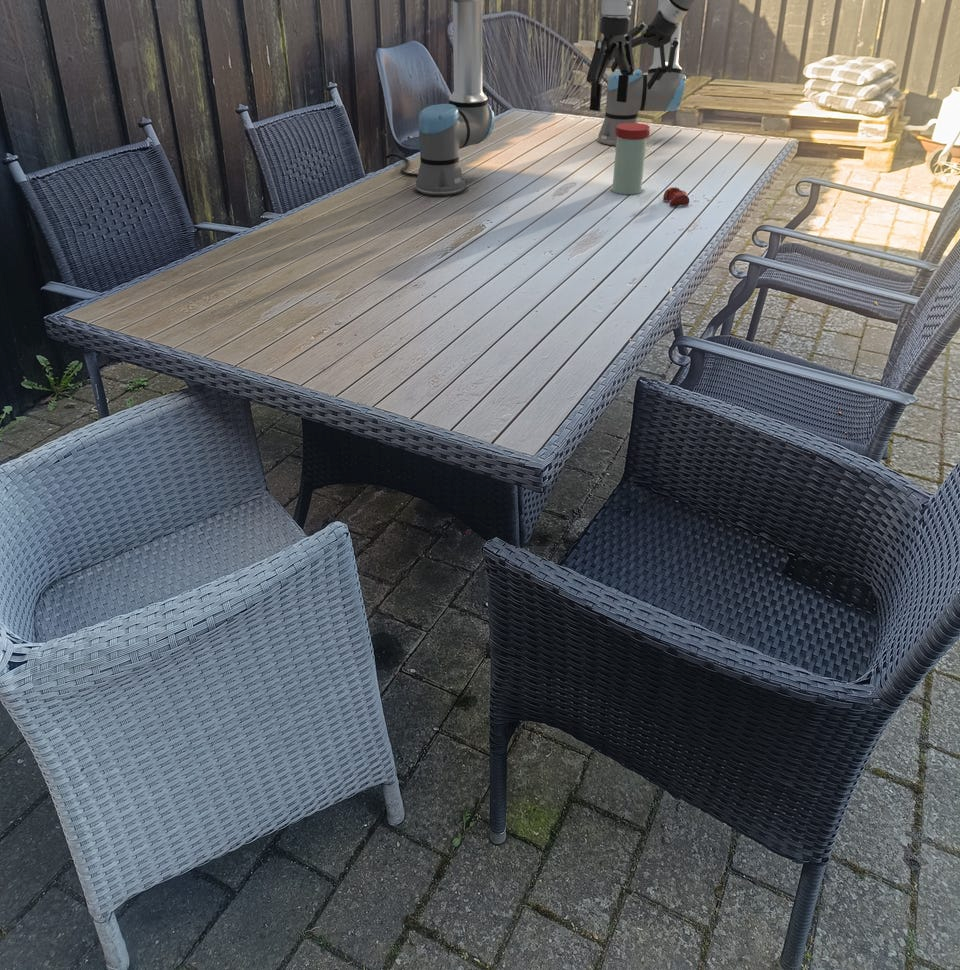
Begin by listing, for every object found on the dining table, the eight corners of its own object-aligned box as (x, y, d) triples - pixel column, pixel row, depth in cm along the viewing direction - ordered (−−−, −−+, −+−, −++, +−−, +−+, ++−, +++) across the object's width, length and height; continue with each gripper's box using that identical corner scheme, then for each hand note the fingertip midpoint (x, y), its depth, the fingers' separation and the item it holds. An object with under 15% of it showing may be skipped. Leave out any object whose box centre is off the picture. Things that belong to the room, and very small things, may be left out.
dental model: (680, 183, 249) (692, 191, 242) (678, 197, 251) (690, 206, 245) (662, 185, 248) (674, 193, 241) (661, 199, 250) (672, 208, 244)
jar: (646, 190, 258) (653, 128, 248) (630, 196, 253) (636, 133, 243) (623, 184, 263) (629, 123, 253) (606, 190, 258) (611, 128, 248)
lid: (655, 135, 249) (656, 126, 248) (636, 141, 243) (637, 132, 242) (628, 129, 254) (628, 121, 253) (608, 135, 249) (609, 126, 247)
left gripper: (602, 22, 204) (595, 116, 216) (653, 12, 219) (644, 100, 232) (576, 19, 207) (570, 112, 220) (628, 10, 223) (620, 96, 236)
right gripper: (635, 4, 247) (597, 68, 263) (705, 40, 255) (664, 100, 271) (633, -8, 251) (596, 55, 267) (701, 28, 259) (661, 87, 275)
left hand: (608, 106), depth 226 cm, fingers open, 13 cm apart
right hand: (630, 78), depth 269 cm, fingers open, 13 cm apart
